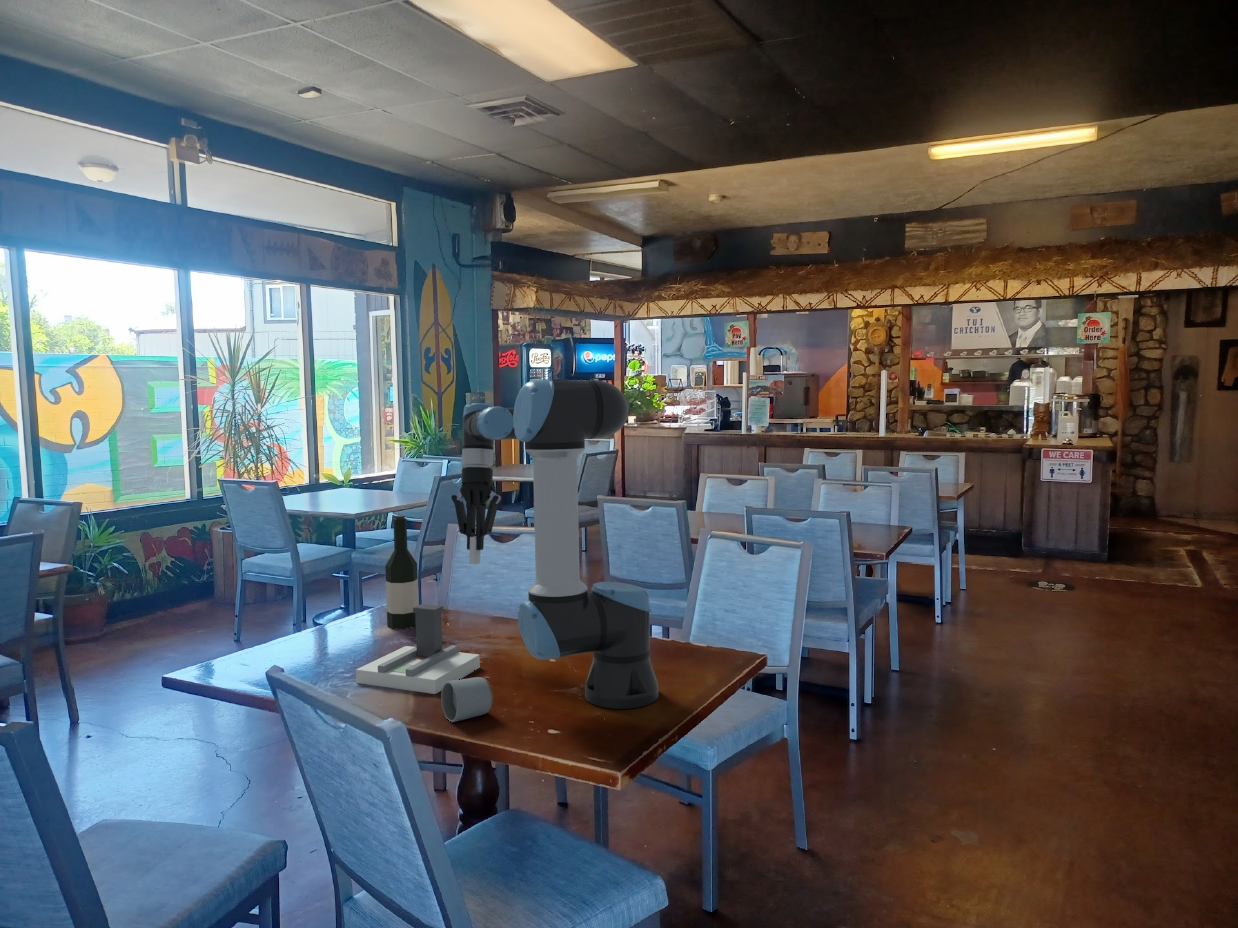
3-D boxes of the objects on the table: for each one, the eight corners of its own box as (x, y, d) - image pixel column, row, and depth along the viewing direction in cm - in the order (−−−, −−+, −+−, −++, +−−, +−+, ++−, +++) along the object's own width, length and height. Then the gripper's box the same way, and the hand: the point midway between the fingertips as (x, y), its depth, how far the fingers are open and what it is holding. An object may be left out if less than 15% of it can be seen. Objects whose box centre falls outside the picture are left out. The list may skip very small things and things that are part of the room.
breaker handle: (444, 654, 188) (443, 605, 188) (435, 658, 185) (434, 609, 184) (423, 651, 190) (422, 603, 190) (414, 656, 187) (413, 607, 186)
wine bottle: (386, 622, 228) (383, 514, 225) (417, 619, 230) (414, 512, 228) (387, 630, 220) (384, 518, 217) (420, 627, 222) (416, 517, 220)
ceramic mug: (496, 717, 160) (495, 678, 159) (457, 727, 155) (456, 687, 154) (471, 702, 168) (470, 665, 168) (433, 711, 163) (432, 673, 163)
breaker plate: (479, 667, 189) (479, 648, 189) (435, 693, 172) (434, 672, 172) (406, 658, 196) (405, 639, 196) (356, 682, 180) (355, 662, 179)
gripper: (508, 467, 205) (505, 563, 203) (461, 468, 209) (458, 562, 207) (494, 465, 198) (491, 565, 196) (446, 466, 202) (443, 563, 200)
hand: (474, 563), depth 202 cm, fingers closed
